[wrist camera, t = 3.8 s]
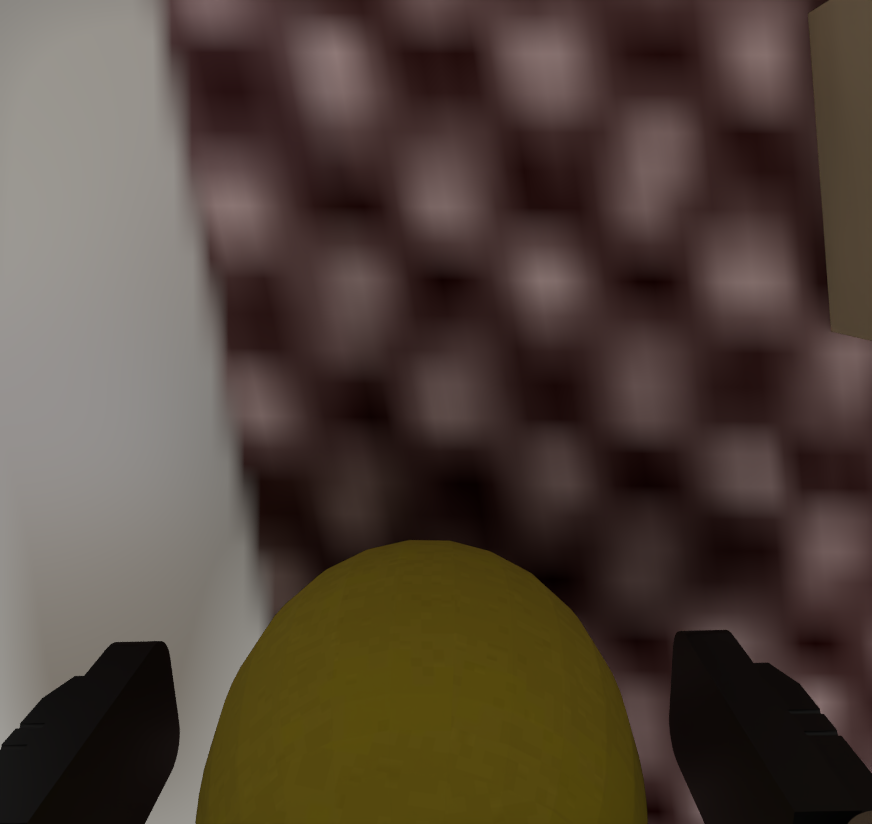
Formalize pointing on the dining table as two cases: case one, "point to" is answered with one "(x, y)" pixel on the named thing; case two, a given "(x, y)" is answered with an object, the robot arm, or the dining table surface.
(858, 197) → the block oak
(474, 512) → the dining table surface
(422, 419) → the dining table surface
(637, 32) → the dining table surface
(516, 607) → the lemon
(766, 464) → the dining table surface
